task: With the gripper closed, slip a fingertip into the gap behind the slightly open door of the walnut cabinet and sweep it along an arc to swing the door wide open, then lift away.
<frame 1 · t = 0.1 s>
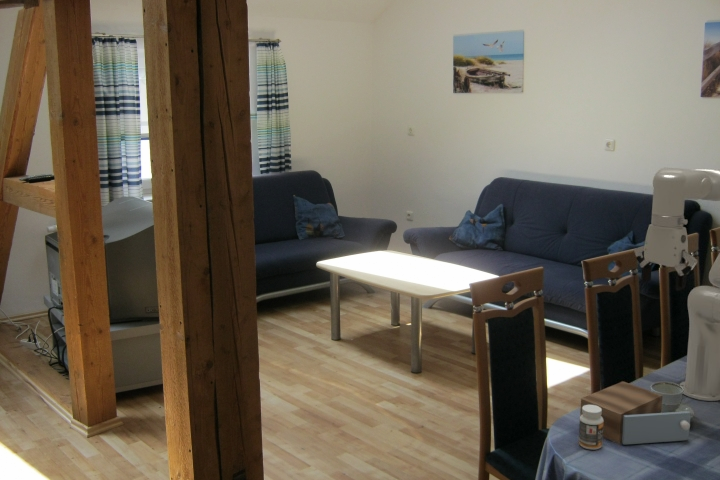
hand: (662, 285, 193), 37 cm above the table, tool pointing down, fingers open, 9 cm apart
door: (657, 429, 184), point 4 cm above the table, hinge at 30.0°
pill bottle: (590, 445, 186), on the table
cabinet: (620, 425, 196), on the table
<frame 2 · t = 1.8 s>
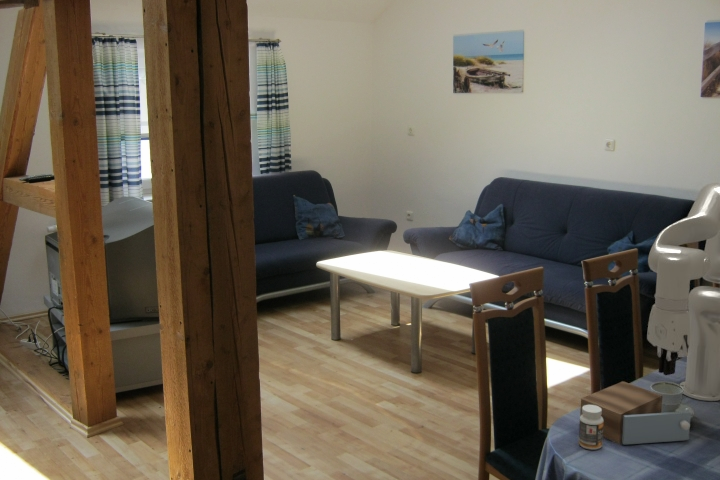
hand: (666, 372, 186), 17 cm above the table, tool pointing down, fingers closed
nothing on the table moved.
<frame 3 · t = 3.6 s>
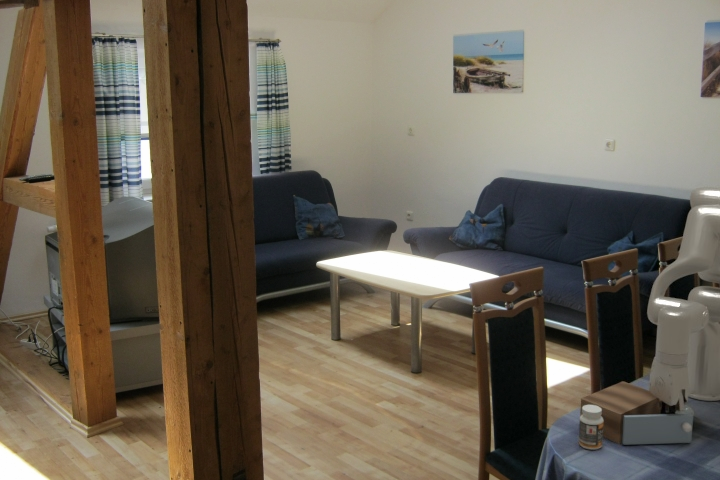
hand: (667, 424, 188), 4 cm above the table, tool pointing down, fingers closed
door: (658, 430, 184), point 4 cm above the table, hinge at 34.4°, touching gripper
everything else where it was.
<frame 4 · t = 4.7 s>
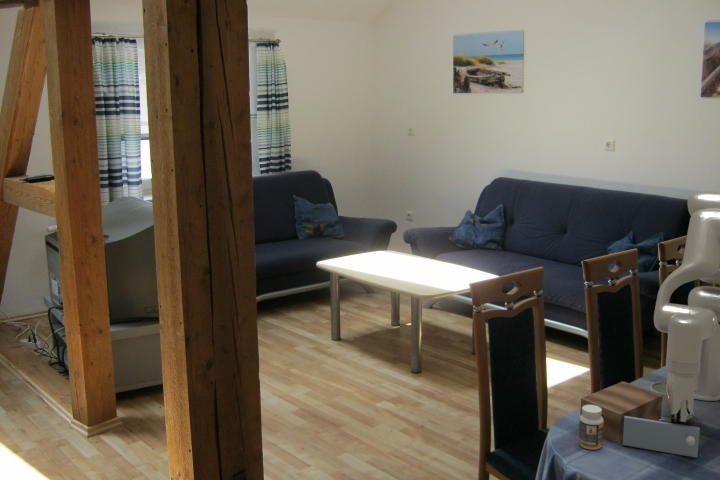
hand: (677, 435, 182), 4 cm above the table, tool pointing down, fingers closed
door: (660, 437, 180), point 4 cm above the table, hinge at 60.1°, touching gripper
everything else where it was.
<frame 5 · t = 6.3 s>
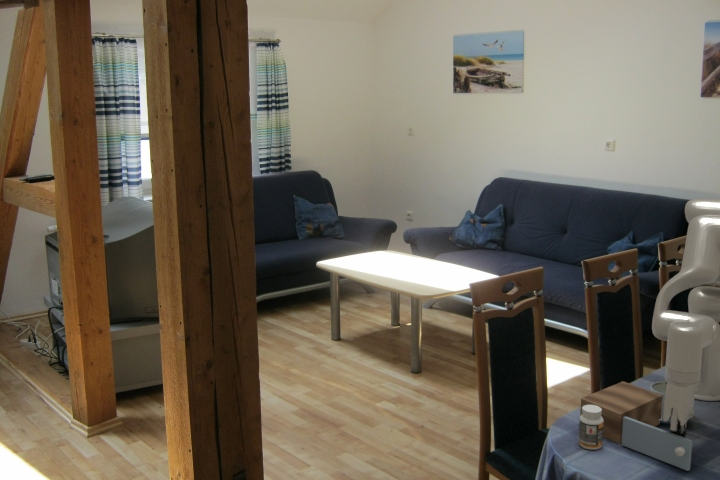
hand: (677, 445, 177), 4 cm above the table, tool pointing down, fingers closed
door: (654, 443, 177), point 4 cm above the table, hinge at 85.7°, touching gripper
everything else where it was.
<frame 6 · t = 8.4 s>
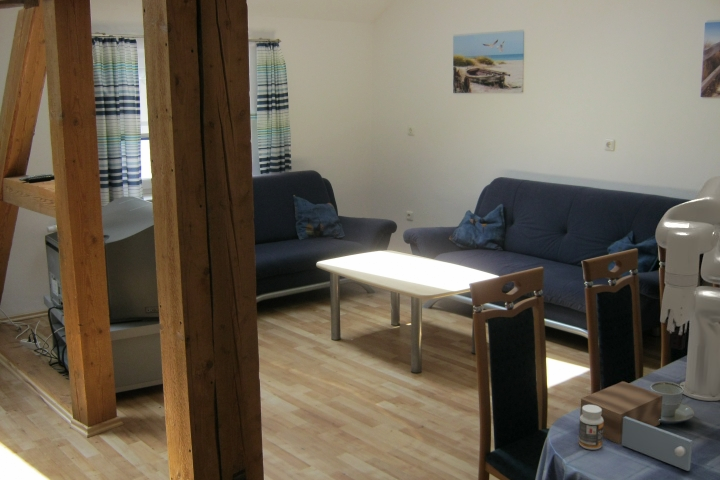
hand: (677, 347, 186), 23 cm above the table, tool pointing down, fingers closed
door: (654, 443, 177), point 4 cm above the table, hinge at 85.7°
everything else where it was.
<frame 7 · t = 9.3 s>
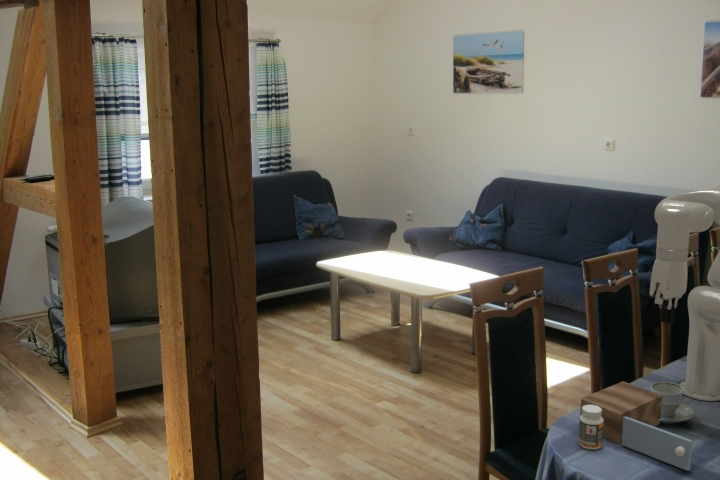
hand: (667, 322, 193), 27 cm above the table, tool pointing down, fingers closed
nothing on the table moved.
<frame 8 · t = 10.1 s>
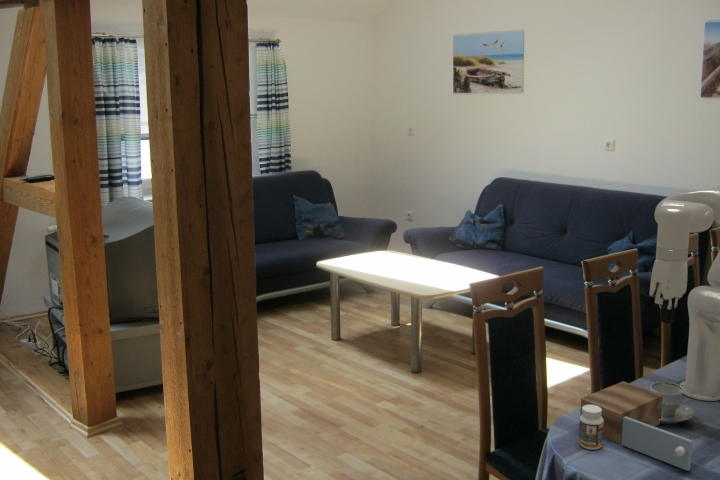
hand: (667, 322, 193), 27 cm above the table, tool pointing down, fingers closed
nothing on the table moved.
at the end: door at +86° (first picture: +30°); pill bottle moved 0.2 cm from its start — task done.
